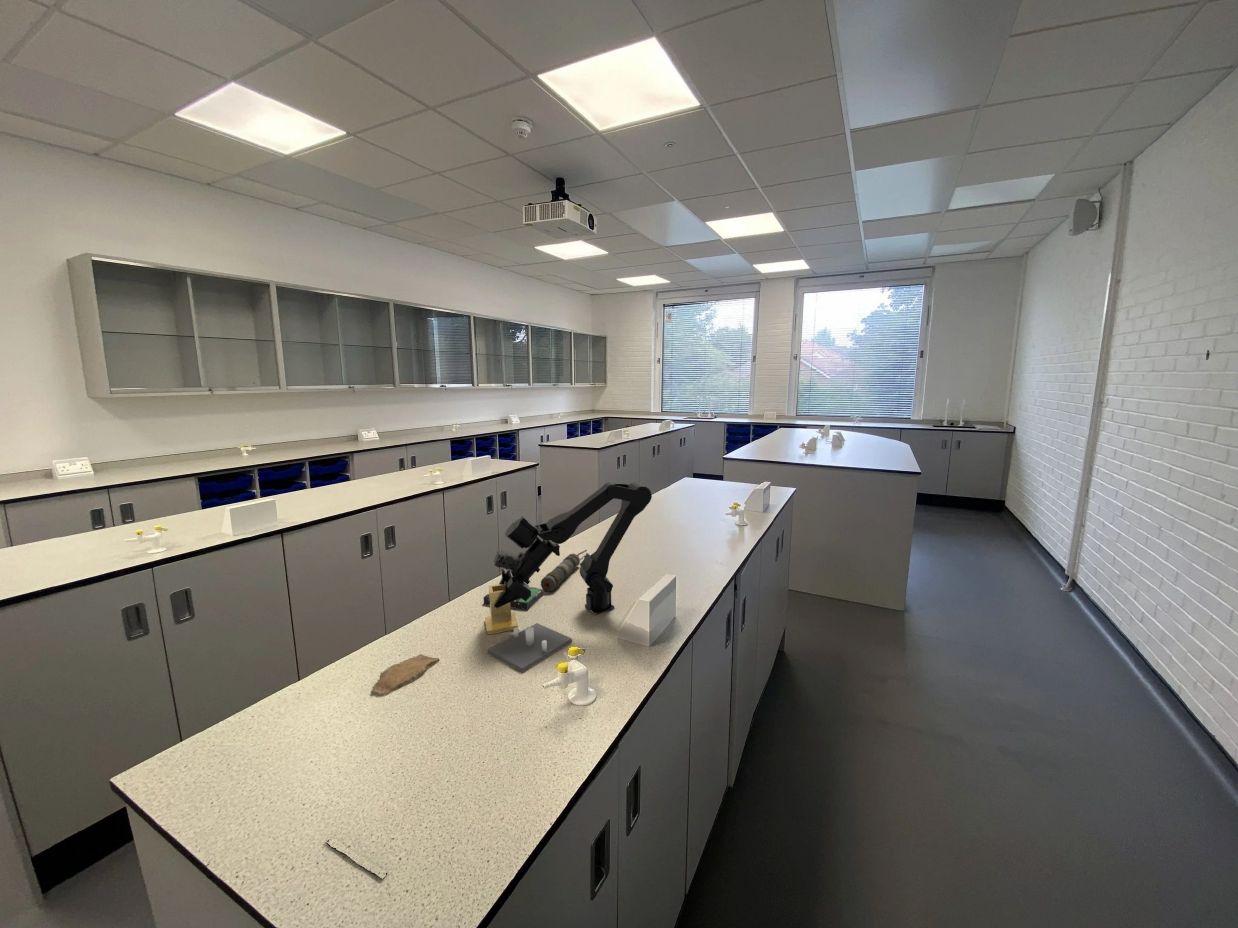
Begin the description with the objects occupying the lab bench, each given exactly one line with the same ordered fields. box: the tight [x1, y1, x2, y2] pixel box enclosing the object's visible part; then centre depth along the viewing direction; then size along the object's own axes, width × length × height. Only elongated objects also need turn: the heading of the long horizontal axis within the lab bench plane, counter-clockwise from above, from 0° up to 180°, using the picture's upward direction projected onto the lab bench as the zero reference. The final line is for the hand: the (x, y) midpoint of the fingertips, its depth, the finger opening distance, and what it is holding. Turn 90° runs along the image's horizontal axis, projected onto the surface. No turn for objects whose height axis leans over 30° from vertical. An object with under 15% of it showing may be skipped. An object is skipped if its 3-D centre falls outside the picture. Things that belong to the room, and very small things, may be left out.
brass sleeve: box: [484, 583, 519, 635], centre depth 129 cm, size 8×8×10 cm
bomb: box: [540, 549, 587, 593], centre depth 165 cm, size 5×34×5 cm, turn 163°
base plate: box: [486, 622, 573, 673], centre depth 118 cm, size 16×13×5 cm
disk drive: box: [483, 586, 544, 611], centre depth 145 cm, size 10×3×15 cm
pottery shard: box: [371, 653, 440, 696], centre depth 108 cm, size 8×16×2 cm, turn 144°
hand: (494, 602), depth 128 cm, fingers closed on brass sleeve, 5 cm apart
